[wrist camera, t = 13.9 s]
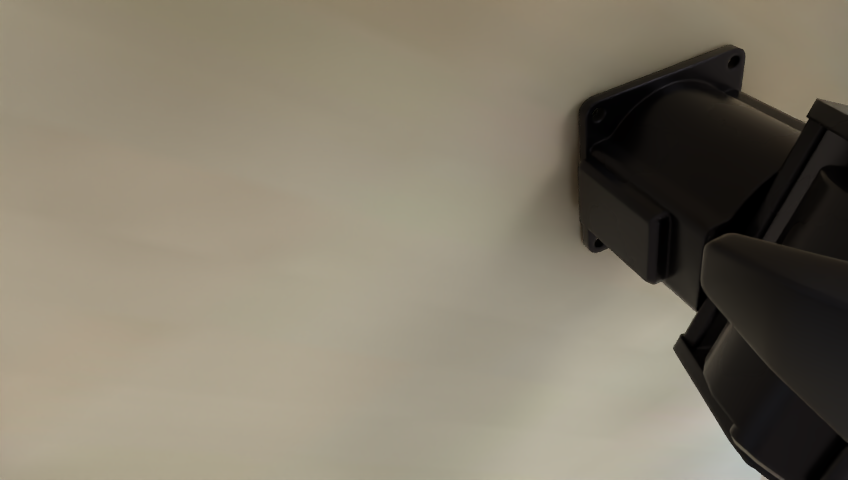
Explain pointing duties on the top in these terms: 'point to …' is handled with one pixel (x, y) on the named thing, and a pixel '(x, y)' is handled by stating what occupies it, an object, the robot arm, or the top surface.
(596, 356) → the top surface
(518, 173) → the top surface
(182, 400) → the top surface
